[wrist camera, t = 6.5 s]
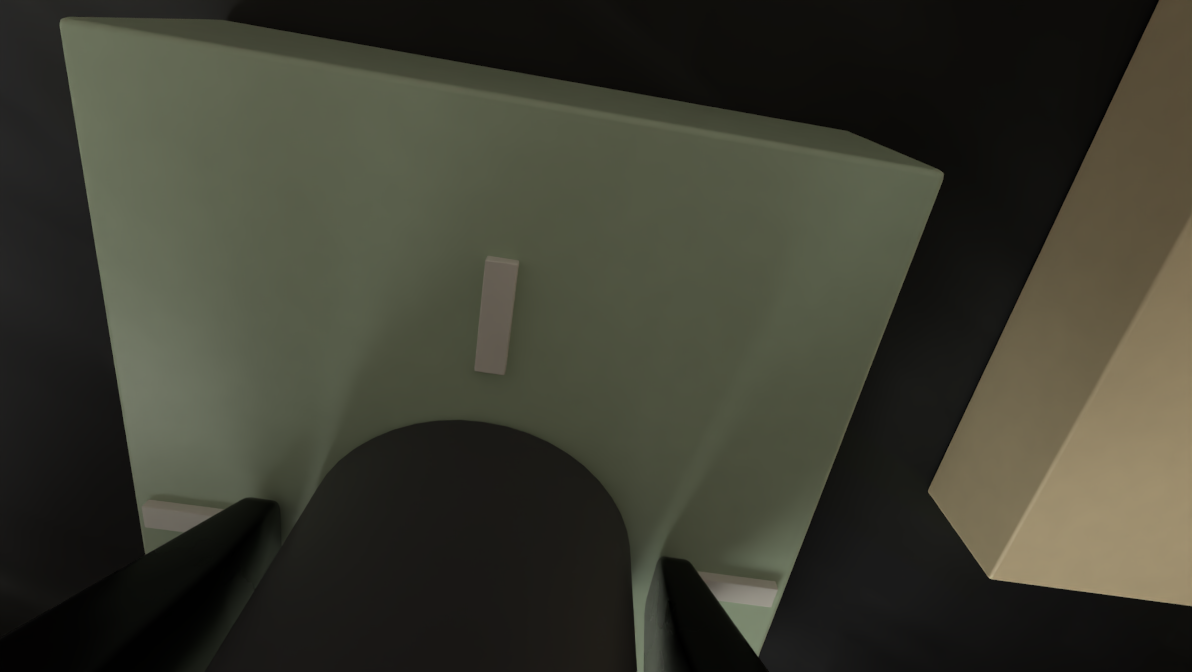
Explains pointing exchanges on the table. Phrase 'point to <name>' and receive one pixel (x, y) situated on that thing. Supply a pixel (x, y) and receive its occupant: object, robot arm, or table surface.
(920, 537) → the table surface
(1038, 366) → the orange button cream base
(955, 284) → the table surface
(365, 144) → the dial panel
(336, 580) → the dial
